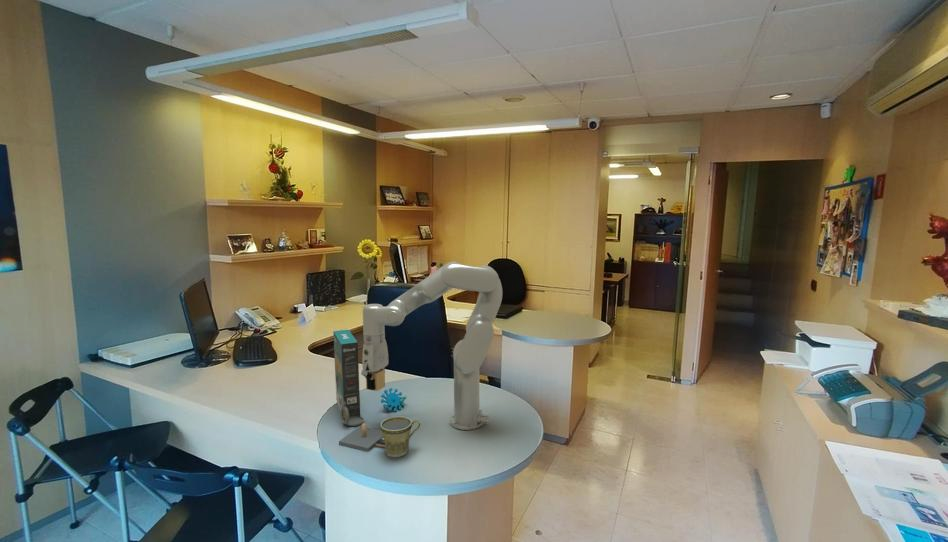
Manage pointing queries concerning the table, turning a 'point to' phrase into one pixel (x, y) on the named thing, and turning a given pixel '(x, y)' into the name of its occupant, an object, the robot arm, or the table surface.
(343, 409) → the pocket watch
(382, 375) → the cube with round knob
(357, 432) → the junction plate
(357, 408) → the cake mix box
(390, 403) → the gear
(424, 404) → the table surface
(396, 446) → the ceramic cup
